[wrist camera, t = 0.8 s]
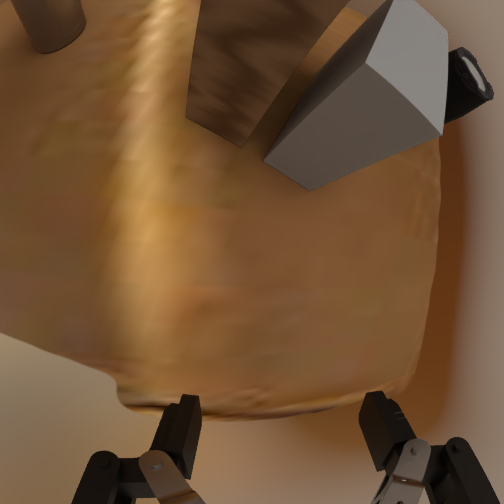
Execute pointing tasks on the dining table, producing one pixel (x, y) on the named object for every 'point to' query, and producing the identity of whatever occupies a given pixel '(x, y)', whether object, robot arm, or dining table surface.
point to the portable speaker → (464, 85)
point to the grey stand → (368, 98)
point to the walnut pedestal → (249, 58)
